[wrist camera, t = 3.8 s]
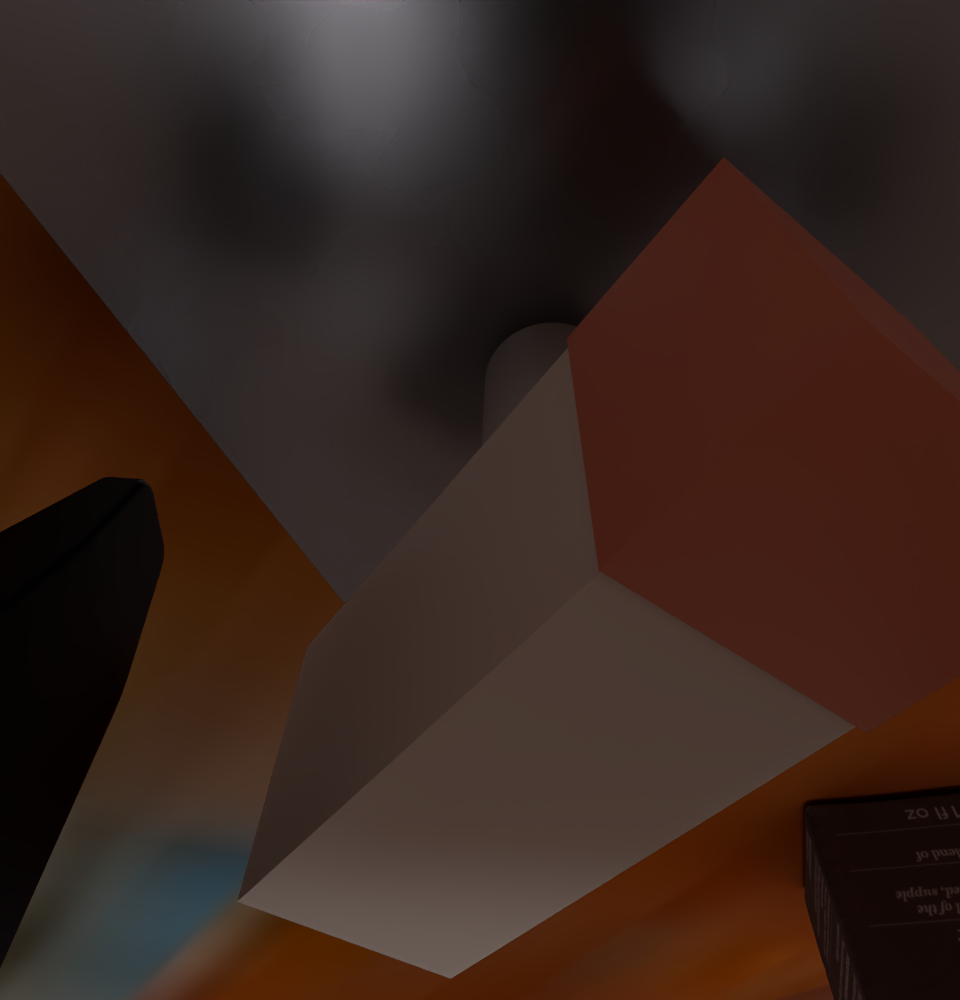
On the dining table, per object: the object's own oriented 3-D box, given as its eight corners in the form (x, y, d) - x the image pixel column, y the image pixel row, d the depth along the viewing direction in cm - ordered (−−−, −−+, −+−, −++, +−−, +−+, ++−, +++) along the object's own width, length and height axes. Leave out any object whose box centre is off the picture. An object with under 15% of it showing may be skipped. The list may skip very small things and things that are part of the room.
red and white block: (474, 576, 13) (454, 986, 8) (343, 502, 12) (231, 904, 7) (817, 227, 10) (1147, 562, 5) (666, 91, 9) (869, 321, 4)
